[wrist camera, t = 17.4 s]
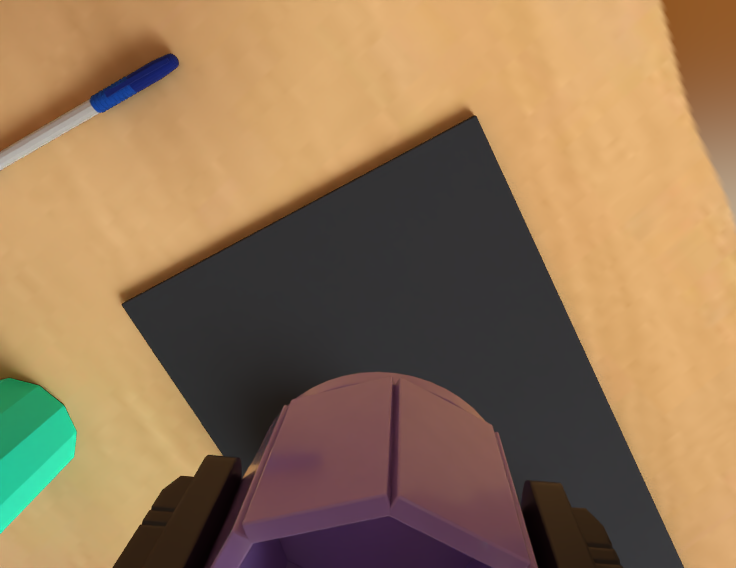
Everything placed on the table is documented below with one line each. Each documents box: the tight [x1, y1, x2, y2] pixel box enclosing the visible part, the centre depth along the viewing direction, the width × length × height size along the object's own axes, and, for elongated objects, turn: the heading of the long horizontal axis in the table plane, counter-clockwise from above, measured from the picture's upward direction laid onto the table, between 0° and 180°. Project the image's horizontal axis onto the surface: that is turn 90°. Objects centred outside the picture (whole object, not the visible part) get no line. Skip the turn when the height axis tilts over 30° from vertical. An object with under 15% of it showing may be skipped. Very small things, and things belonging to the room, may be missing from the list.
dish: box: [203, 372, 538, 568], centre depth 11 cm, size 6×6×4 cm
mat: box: [122, 116, 684, 568], centre depth 28 cm, size 28×18×1 cm, turn 28°
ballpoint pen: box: [0, 54, 179, 170], centre depth 24 cm, size 10×1×1 cm, turn 118°
